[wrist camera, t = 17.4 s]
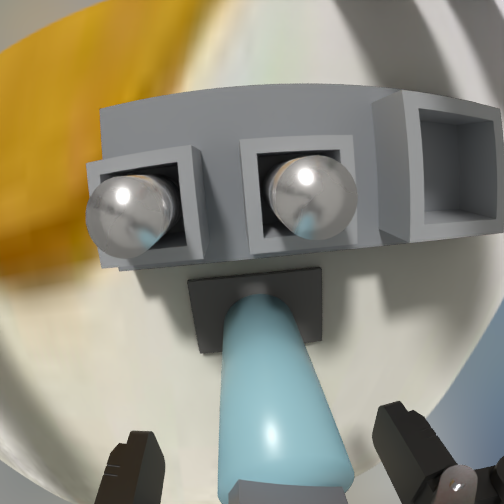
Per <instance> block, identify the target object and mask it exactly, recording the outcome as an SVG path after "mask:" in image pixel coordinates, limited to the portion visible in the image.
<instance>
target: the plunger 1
mask: <svg viewBox="0 0 504 504" xmlns="http://www.w3.org/2000/svg"><path fill="white" fill-rule="evenodd" d="M182 214H183V210H182V202H181V193H180V186H179V184H178V183H177V182H176V181H175V180H174V179H172V178H171V177H169V176H166V175H162V174H148V175H131V176H118V177H113V178H110V179H108V180H106V181H104V182H102V183H101V184H100V185H99V186H98V187H97V188H96V189H95V190H94V192H93V193H92V195H91V196H90V198H89V201H88V204H87V208H86V225H87V229H88V232H89V234H90V237H91V239H92V240H93V242H94V243H95V244H96V246H97V247H98V248H99V249H100V250H102V251H103V252H104V253H106V254H108V255H110V256H112V257H115V258H120V259H129V258H134V257H137V256H139V255H141V254H143V253H145V252H146V251H147V250H148V249H149V248H150V247H151V246H153V245H154V244H155V243H156V242H157V241H158V240H159V239H160V238H161V237H162V236H163V235H164V234H165V233H166V232H168V231H169V230H170V229H171V228H172V227H173V226H174V225H175V224H176V223H177V222H178V221H179V220H180V218H181V216H182Z"/></svg>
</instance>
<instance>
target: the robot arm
mask: <svg viewBox="0 0 504 504" xmlns="http://www.w3.org/2000/svg"><path fill="white" fill-rule="evenodd" d="M372 439H373V444H374V447H375V449H376V451H377V453H378V455H379V457H380V459H381V461H382V463H383V465H384V467H385V469H386V471H387V474H388V476H389V478H390V480H391V482H392V484H393V486H394V488H395V490H396V492H397V494H398V496H399V498H400V501H401V503H402V504H504V456H503V457H502V458H501V459H500V460H499V461H498V463H497V464H496V465H494V466H491V467H486V468H482V469H476V470H473V469H472V468H470V467H468V466H465V465H458V464H457V463H456V462H455V460H454V459H453V458H452V456H451V454H450V453H449V452H448V450H447V449H446V447H445V446H444V444H443V443H442V442H441V440H440V439H439V437H438V436H436V433H435V432H434V430H433V429H432V428H431V426H430V424H429V423H428V422H427V421H426V419H425V417H423V416H422V415H420V414H419V413H417V412H416V411H414V410H412V411H409V412H408V411H407V410H406V408H405V407H404V405H403V404H402V403H401V402H400V401H396V402H393V403H389V404H386V405H382V406H380V407H379V408H378V412H377V416H376V420H375V424H374V428H373V433H372ZM164 475H165V460H164V456H163V454H162V451H161V449H160V447H159V444H158V442H157V440H156V437H155V435H154V433H153V432H152V431H131V432H130V434H129V437H128V441H127V444H122V443H119V444H118V445H117V446H116V447H115V448H114V450H113V451H112V452H111V453H110V456H109V459H108V462H107V466H106V468H105V471H104V475H103V477H102V481H101V484H100V487H99V490H98V493H97V497H96V500H95V503H94V504H160V502H161V495H162V488H163V482H164Z"/></svg>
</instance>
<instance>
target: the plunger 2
mask: <svg viewBox="0 0 504 504" xmlns="http://www.w3.org/2000/svg"><path fill="white" fill-rule="evenodd" d="M262 194H263V198H264V201H265V203H266V204H267V206H268V207H269V209H270V210H271V211H272V212H273V213H274V214H275V215H276V216H277V217H278V218H279V219H280V220H281V222H282V223H283V224H284V225H285V226H286V227H287V228H288V229H289V230H290V231H291V232H293V233H294V234H296V235H297V236H299V237H302V238H304V239H308V240H324V239H328V238H331V237H333V236H335V235H337V234H339V233H340V232H341V231H343V230H344V229H345V228H346V227H347V226H348V224H349V223H350V222H351V220H352V218H353V216H354V214H355V212H356V208H357V202H358V193H357V187H356V184H355V181H354V179H353V177H352V175H351V174H350V172H349V171H348V170H347V169H346V167H345V166H343V165H342V164H341V163H340V162H338V161H336V160H334V159H332V158H330V157H326V156H321V155H313V156H307V157H301V158H296V159H291V160H287V161H282V162H280V163H278V164H276V165H274V166H273V167H272V168H271V169H270V170H269V171H268V172H267V174H266V175H265V178H264V180H263V184H262Z"/></svg>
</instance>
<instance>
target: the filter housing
mask: <svg viewBox="0 0 504 504" xmlns="http://www.w3.org/2000/svg"><path fill="white" fill-rule="evenodd" d="M100 124H101V142H102V155H103V160H99V161H94V162H90V163H86V168H87V178H88V187H89V195H90V196H91V195H92V193H93V192H94V190H95V189H96V188H97V187H98V186H99V185H100V184H101V183H102V182H104V181H106V180H108V179H110V178H113V177H118V176H131V175H148V174H162V175H166V176H169V177H171V178H172V179H174V180H175V181H176V182H177V183H178V184H179V186H180V193H181V202H182V210H183V214H182V216H181V218H180V220H179V221H178V222H177V223H176V224H175V225H174V226H173V227H172V228H171V229H170V230H169V231H168V232H166V233H165V234H164V235H163V236H162V237H161V238H160V239H159V240H158V241H157V242H156V243H155V244H154V245H153V246H151V247H150V248H149V249H148V250H147V251H146V252H145V253H143V254H141V255H139V256H137V257H134V258H129V259H120V258H115V257H112V256H110V255H108V254H106V253H104V252H103V251H102V250H100V249H99V248H98V252H99V257H100V262H101V267H102V268H113V267H118V268H119V271H129V270H140V269H151V268H161V267H172V266H183V265H194V264H204V263H215V262H225V261H236V260H246V259H256V258H267V257H277V256H287V255H297V254H307V253H317V252H327V251H337V250H347V249H356V248H366V247H376V246H385V245H395V244H404V243H414V242H424V241H433V240H442V239H452V238H461V237H470V236H479V235H488V234H497V233H504V141H503V130H502V121H501V113H500V109H498V108H495V107H491V106H487V105H483V104H479V103H476V102H471V101H467V100H462V99H457V98H452V97H447V96H442V95H436V94H430V93H424V92H417V91H410V90H402V89H394V88H384V87H374V86H361V85H344V84H266V85H248V86H235V87H224V88H214V89H205V90H197V91H190V92H183V93H176V94H170V95H164V96H158V97H153V98H147V99H142V100H137V101H133V102H128V103H123V104H119V105H115V106H110V107H106V108H102V109H100ZM313 155H321V156H326V157H330V158H332V159H334V160H336V161H338V162H340V163H341V164H342V165H343V166H345V167H346V169H347V170H348V171H349V172H350V174H351V175H352V177H353V179H354V181H355V184H356V187H357V193H358V202H357V208H356V212H355V214H354V216H353V218H352V220H351V222H350V223H349V224H348V226H347V227H346V228H345V229H344V230H343V231H341V232H340V233H339V234H337V235H335V236H333V237H331V238H328V239H324V240H308V239H304V238H302V237H299V236H297V235H296V234H294V233H293V232H291V231H290V230H289V229H288V228H287V227H286V226H285V225H284V224H283V223H282V222H281V220H280V219H279V218H278V217H277V216H276V215H275V214H274V213H273V212H272V211H271V210H270V209H269V207H268V206H267V204H266V203H265V201H264V198H263V194H262V184H263V180H264V178H265V175H266V174H267V172H268V171H269V170H270V169H271V168H272V167H273V166H274V165H276V164H278V163H280V162H282V161H287V160H291V159H296V158H301V157H307V156H313Z"/></svg>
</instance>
